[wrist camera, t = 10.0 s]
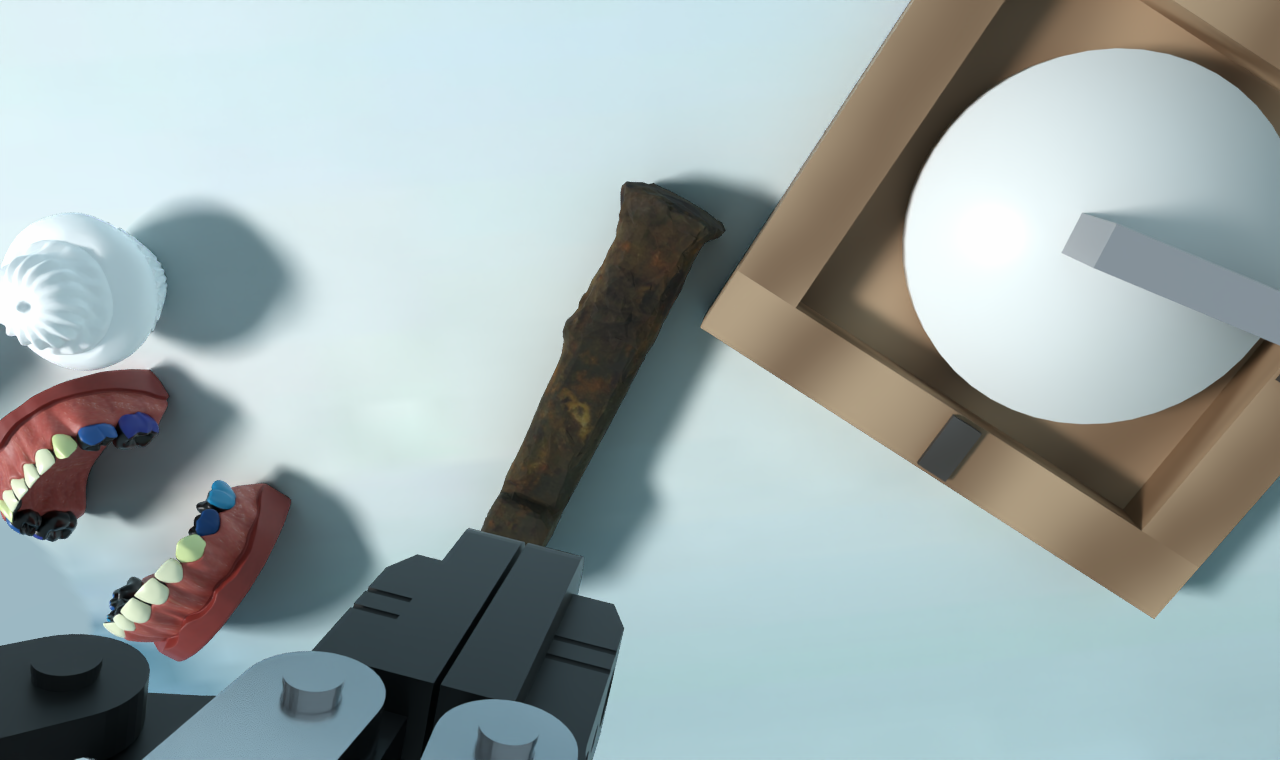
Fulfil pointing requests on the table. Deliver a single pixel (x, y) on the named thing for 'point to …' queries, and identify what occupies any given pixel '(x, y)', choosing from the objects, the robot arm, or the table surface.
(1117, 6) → the wooden frame
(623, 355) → the hand tool
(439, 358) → the table surface
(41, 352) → the white fluted cup
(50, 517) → the teeth model
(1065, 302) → the dial
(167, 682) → the table surface
